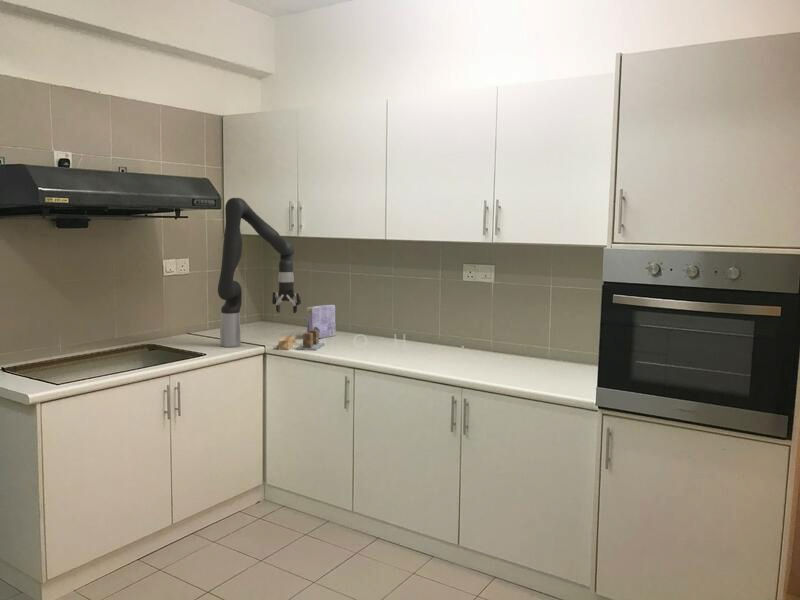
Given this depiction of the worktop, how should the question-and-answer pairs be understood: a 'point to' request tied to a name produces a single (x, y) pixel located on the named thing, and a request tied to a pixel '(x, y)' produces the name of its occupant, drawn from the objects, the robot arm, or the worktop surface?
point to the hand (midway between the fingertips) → (286, 312)
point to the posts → (310, 338)
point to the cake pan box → (321, 320)
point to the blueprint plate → (312, 347)
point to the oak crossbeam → (286, 342)
